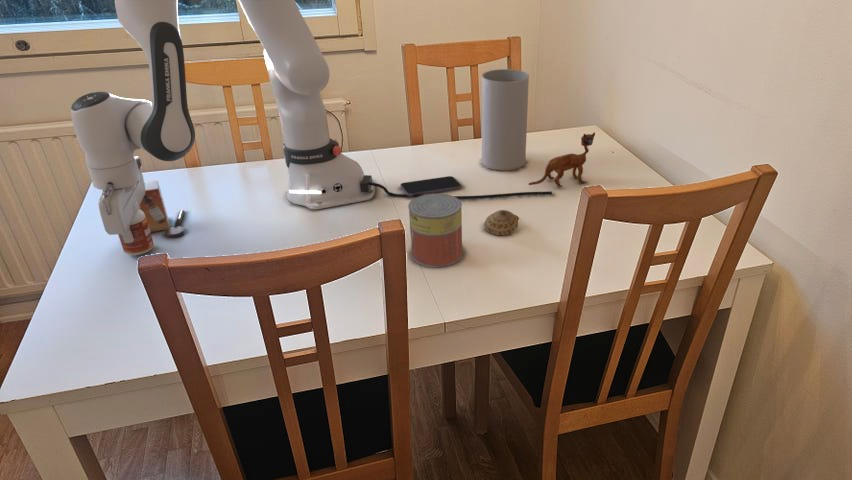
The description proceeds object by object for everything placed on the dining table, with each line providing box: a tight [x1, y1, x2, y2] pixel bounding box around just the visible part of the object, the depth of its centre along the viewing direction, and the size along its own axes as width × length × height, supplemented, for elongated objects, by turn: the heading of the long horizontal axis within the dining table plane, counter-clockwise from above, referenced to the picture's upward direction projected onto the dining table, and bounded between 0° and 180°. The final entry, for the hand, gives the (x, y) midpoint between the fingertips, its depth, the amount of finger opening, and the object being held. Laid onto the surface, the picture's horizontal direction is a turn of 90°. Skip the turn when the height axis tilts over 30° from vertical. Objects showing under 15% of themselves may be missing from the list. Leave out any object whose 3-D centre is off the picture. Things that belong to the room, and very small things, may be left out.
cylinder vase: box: [481, 68, 530, 172], centre depth 179 cm, size 12×12×25 cm
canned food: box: [407, 192, 464, 268], centre depth 139 cm, size 11×11×12 cm
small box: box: [140, 179, 171, 233], centre depth 150 cm, size 8×6×10 cm
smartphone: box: [400, 175, 462, 196], centre depth 171 cm, size 7×1×15 cm
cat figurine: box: [527, 131, 596, 188], centre depth 170 cm, size 18×7×14 cm, turn 109°
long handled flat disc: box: [164, 209, 185, 239], centre depth 154 cm, size 13×4×1 cm, turn 13°
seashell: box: [483, 209, 520, 236], centre depth 152 cm, size 8×6×8 cm
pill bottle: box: [117, 201, 155, 256], centre depth 139 cm, size 6×6×11 cm
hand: (134, 232), depth 140 cm, fingers closed on pill bottle, 6 cm apart
